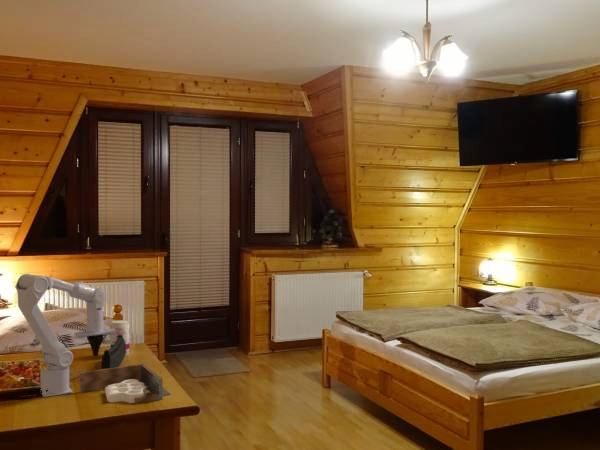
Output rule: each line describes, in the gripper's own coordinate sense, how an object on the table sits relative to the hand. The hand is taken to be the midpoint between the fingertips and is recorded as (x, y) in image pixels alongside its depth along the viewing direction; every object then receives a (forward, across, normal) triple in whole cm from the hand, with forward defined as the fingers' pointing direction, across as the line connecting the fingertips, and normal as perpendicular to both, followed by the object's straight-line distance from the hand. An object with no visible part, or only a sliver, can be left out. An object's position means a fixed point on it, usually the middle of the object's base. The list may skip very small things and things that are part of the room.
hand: (95, 355), depth 220 cm
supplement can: (+10, +18, +35) cm, 41 cm away
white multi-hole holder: (+11, +6, -22) cm, 25 cm away
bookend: (+10, +17, -21) cm, 29 cm away
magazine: (+10, +11, +16) cm, 22 cm away
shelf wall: (+10, +4, -21) cm, 23 cm away
